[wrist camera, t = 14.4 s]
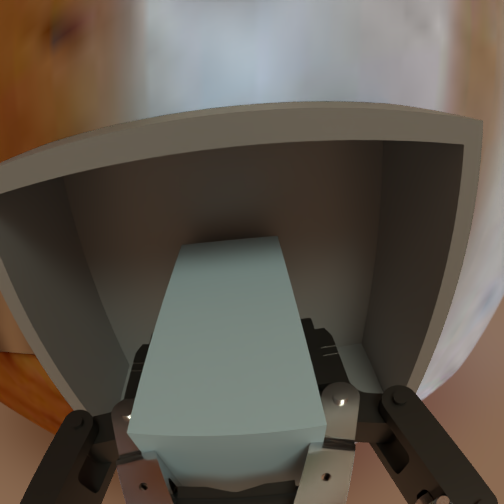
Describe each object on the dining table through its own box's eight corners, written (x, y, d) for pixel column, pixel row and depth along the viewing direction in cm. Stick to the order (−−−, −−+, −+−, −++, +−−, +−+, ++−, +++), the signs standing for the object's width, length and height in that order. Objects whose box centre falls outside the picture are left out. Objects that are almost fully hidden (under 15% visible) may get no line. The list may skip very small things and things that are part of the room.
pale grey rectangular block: (181, 244, 16) (126, 432, 7) (277, 235, 16) (326, 424, 7) (197, 319, 19) (177, 494, 9) (280, 312, 19) (312, 488, 9)
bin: (125, 364, 24) (104, 446, 16) (50, 142, 15) (-39, 181, 8) (367, 341, 24) (402, 418, 17) (390, 103, 15) (483, 120, 8)
